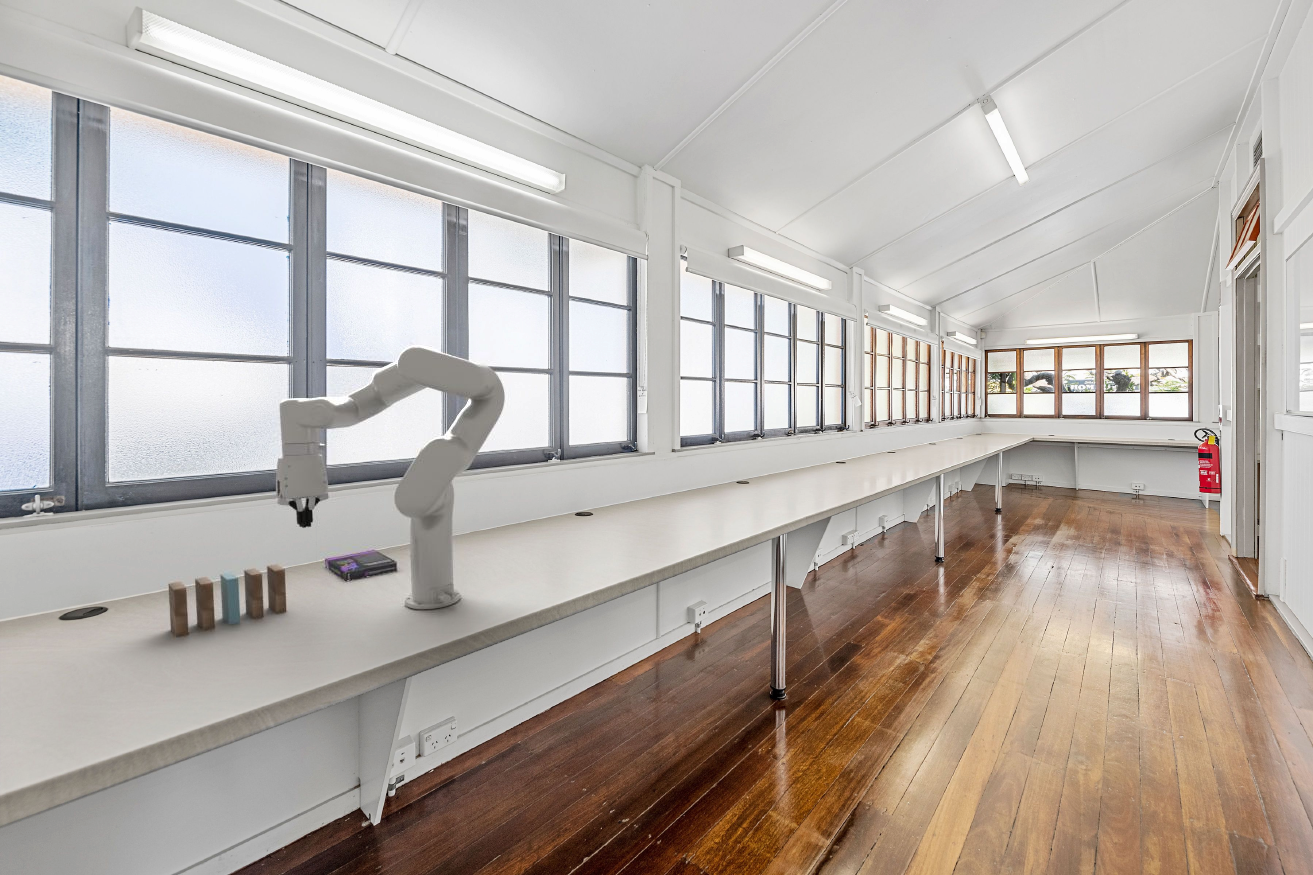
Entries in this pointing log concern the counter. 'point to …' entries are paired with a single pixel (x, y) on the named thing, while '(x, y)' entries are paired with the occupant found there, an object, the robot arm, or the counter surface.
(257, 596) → the domino
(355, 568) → the box
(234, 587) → the domino
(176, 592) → the domino
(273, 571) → the domino
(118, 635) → the counter surface
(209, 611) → the domino
